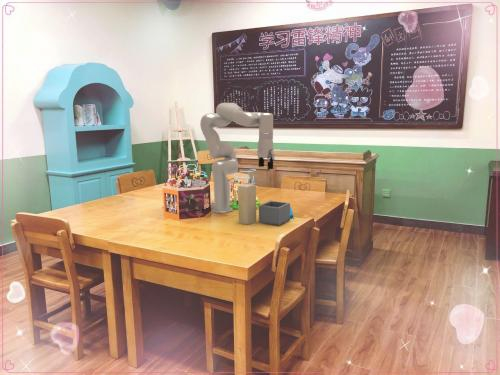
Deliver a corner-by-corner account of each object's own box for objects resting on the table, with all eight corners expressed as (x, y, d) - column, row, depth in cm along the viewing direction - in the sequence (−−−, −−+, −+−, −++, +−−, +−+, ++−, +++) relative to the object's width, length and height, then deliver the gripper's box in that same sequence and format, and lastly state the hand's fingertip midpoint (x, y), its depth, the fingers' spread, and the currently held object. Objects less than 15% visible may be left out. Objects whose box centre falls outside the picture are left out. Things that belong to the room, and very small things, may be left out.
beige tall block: (246, 219, 236) (246, 183, 232) (256, 221, 231) (256, 184, 227) (237, 222, 230) (236, 185, 226) (247, 225, 225) (247, 187, 221)
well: (258, 223, 228) (258, 205, 226) (270, 217, 239) (270, 200, 237) (279, 226, 222) (279, 208, 220) (289, 220, 233) (289, 203, 231)
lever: (292, 225, 239) (287, 210, 255) (293, 215, 236) (288, 200, 252) (280, 226, 239) (276, 210, 255) (281, 215, 236) (277, 200, 252)
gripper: (252, 135, 228) (252, 166, 232) (268, 137, 213) (267, 170, 217) (264, 134, 232) (263, 165, 235) (280, 137, 217) (280, 169, 220)
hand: (265, 167), depth 226 cm, fingers open, 9 cm apart
